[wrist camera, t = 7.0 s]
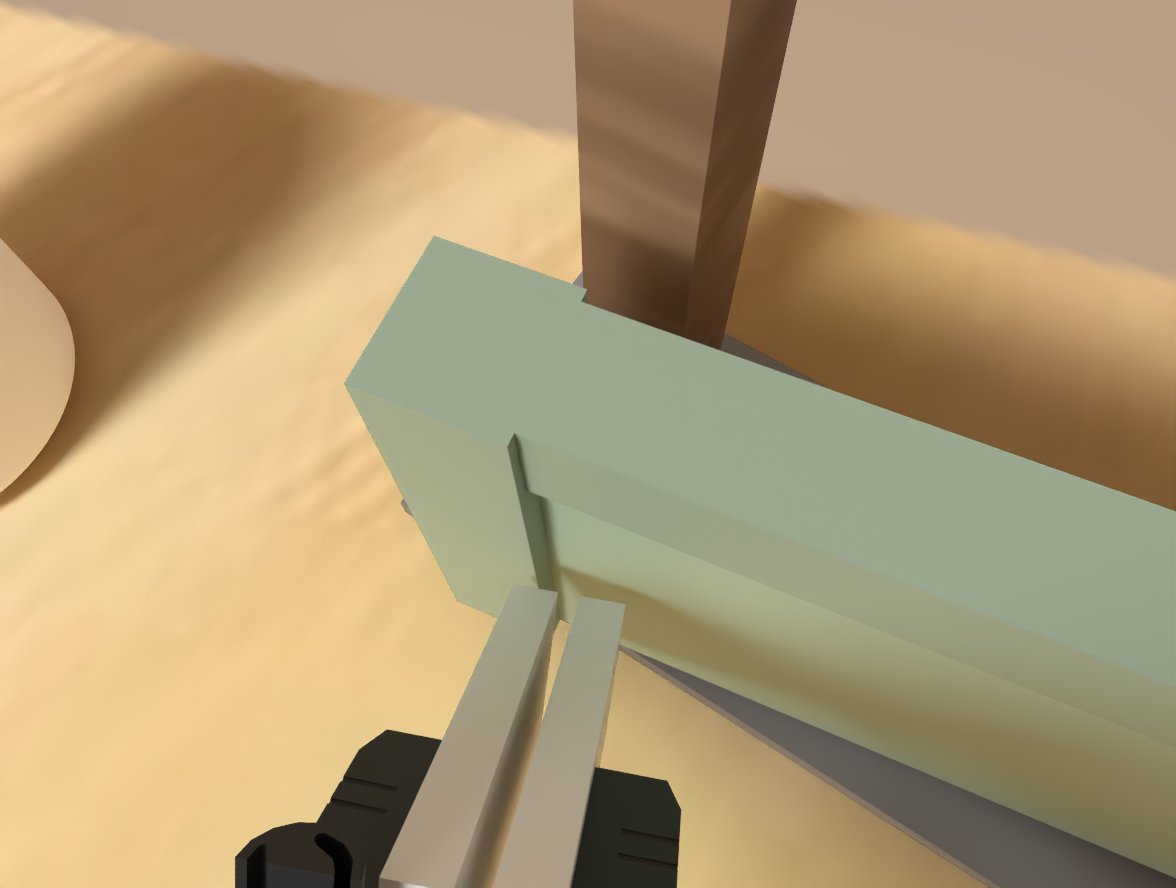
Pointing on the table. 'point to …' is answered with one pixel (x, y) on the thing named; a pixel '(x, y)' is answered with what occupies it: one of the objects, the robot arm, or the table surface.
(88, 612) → the table surface
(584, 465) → the gate
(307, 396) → the table surface
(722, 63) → the gate frame
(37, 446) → the white cylinder
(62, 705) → the table surface
